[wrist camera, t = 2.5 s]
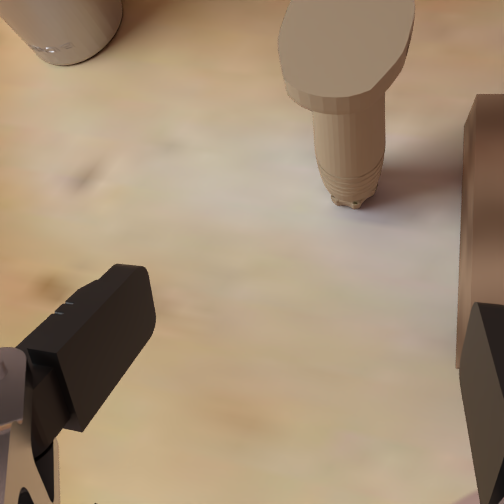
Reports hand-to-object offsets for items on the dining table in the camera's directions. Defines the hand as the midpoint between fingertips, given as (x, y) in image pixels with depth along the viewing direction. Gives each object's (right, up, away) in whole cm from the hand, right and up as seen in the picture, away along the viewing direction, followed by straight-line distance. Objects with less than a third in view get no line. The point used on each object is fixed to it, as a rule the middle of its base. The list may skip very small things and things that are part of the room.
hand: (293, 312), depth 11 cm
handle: (+6, +6, +20) cm, 22 cm away
